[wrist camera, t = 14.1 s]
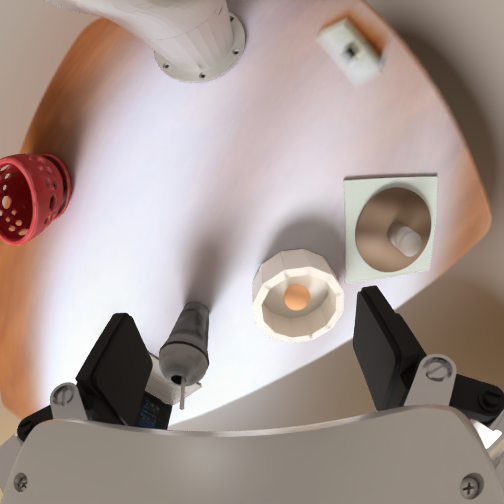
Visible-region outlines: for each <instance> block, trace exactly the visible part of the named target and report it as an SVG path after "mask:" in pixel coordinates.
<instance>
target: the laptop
mask: <svg viewBox="0 0 504 504" xmlns="http://www.w3.org/2000/svg"><path fill="white" fill-rule="evenodd" d="M149 355H150V357H151V359H152V362H153V368H152V371H151V374H150V377H149V379H148V382H147V385H146V388H145V391H144V394H143V397H142V400H141V403H140V406H139V409H138V413H137V416H136V419H135V422H134V425H133V426H132V427H140V428H149V429H160V430H167V428H168V423H169V419H170V415H171V410H172V405H175V404H176V403H178V402H179V401H180V395H181V386H177V385H174V384H172V383H170V382H169V381H168V380H167V379H166V378H165V377H164V376H163V374H162V373H161V370H160V367H159V360H158V359H157V358H155V357H154V356H152V355H151V354H149ZM201 387H202V386H200V385H199V384H197V383H195V384H193V385H191V386H185V397H184V398H186V397H187V396H189V395H190V394H192V393H193V392H195V391H197V390H198V389H200V388H201ZM147 391H148V392H147ZM152 394H153V395H152ZM154 395H155V396H154ZM159 398H160V399H159ZM168 403H169V404H168Z"/></svg>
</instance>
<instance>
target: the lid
mask: <svg viewBox="0 0 504 504" xmlns="http://www.w3.org/2000/svg"><path fill="white" fill-rule="evenodd" d="M430 233H431V215H430V212H429V209H428V206H427V204H426V203H425V201H424V200H423V199H422V198H421V197H420V196H419V195H418V194H416V193H415V192H413V191H411V190H408V189H406V188H401V187H394V188H389V189H385V190H383V191H381V192H379V193H377V194H376V195H375V196H373V197H372V198H371V199H370V200H369V201H368V202H367V203H366V205H365V206H364V207H363V209H362V211H361V212H360V215H359V217H358V220H357V223H356V228H355V242H356V247H357V250H358V252H359V254H360V256H361V257H362V259H363V260H364V261H365V262H366V263H367V264H368V265H369V266H370V267H371V268H373V269H375V270H377V271H380V272H396V271H399V270H402V269H404V268H406V267H408V266H409V265H411V264H412V263H413V262H414V261H416V260H417V258H418V257H419V256H420V255H421V254H422V252H423V251H424V249H425V247H426V245H427V243H428V240H429V237H430Z"/></svg>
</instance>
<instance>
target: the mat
mask: <svg viewBox="0 0 504 504" xmlns="http://www.w3.org/2000/svg"><path fill="white" fill-rule="evenodd" d="M394 187H401V188H406V189H408V190H411V191H413V192H415V193H416V194H418V195H419V196H420V197H421V198H422V199H423V200H424V201H425V203H426V204H427V206H428V209H429V212H430V215H431V233H430V237H429V240H428V243H427V245H426V247H425V249H424V251H423V252H422V254H421V255H420V256H419V257H418V258H417V260H416V261H414V262H413V263H412V264H411V265H409V266H408V267H406V268H404V269H402V270H399V271H396V272H380V271H377V270H375V269H373V268H371V267H370V266H369V265H368V264H367V263H366V262H365V261H364V260H363V259H362V257H361V256H360V254H359V252H358V250H357V247H356V242H355V228H356V223H357V220H358V217H359V215H360V212H361V211H362V209H363V207H364V206H365V205H366V203H367V202H368V201H369V200H370V199H371V198H372V197H373V196H375V195H376V194H377V193H379V192H381V191H383V190H385V189H389V188H394ZM437 190H438V177H437V176H418V177H389V178H370V179H354V180H344V201H345V284H351V283H358V282H364V281H370V280H376V279H382V278H388V277H394V276H400V275H405V274H411V273H416V272H422V271H427V270H429V269H430V263H431V256H432V249H433V241H434V232H435V222H436V209H437Z"/></svg>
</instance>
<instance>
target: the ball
mask: <svg viewBox="0 0 504 504" xmlns="http://www.w3.org/2000/svg"><path fill="white" fill-rule="evenodd" d="M284 301H285V304H286V305H287V306H288V307H289V308H290V309H292V310H301V309H304V308H305V307H306V306H307V305H308V303H309V301H310V293H309V291H308V289H307V288H306V287H304V286H303V285H299V284H295V285H292V286H290V287H289V288H288V289H287V290H286V291H285V294H284Z"/></svg>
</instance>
